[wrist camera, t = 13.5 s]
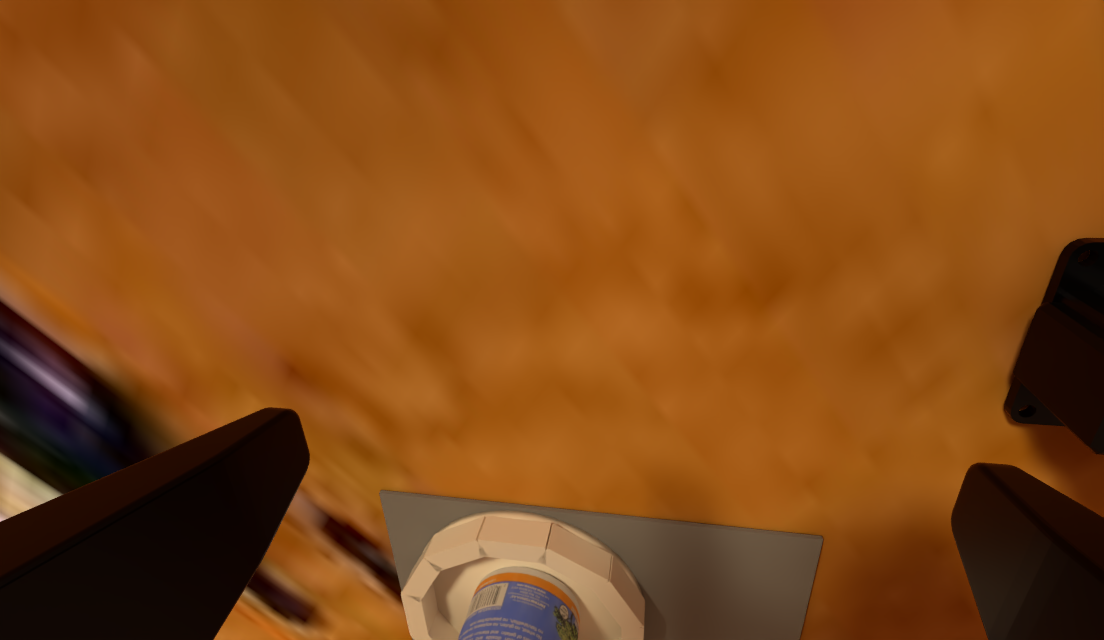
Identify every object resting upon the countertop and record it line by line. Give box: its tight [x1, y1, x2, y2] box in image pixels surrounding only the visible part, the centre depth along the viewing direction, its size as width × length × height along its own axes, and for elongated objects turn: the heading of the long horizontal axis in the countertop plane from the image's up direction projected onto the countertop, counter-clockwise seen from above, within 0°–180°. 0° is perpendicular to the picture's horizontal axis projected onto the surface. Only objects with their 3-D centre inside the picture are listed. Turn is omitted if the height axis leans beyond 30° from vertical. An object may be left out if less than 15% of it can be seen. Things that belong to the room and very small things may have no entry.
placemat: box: [379, 490, 823, 640], centre depth 28 cm, size 20×12×1 cm, turn 92°
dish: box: [401, 510, 645, 640], centre depth 28 cm, size 12×12×2 cm
